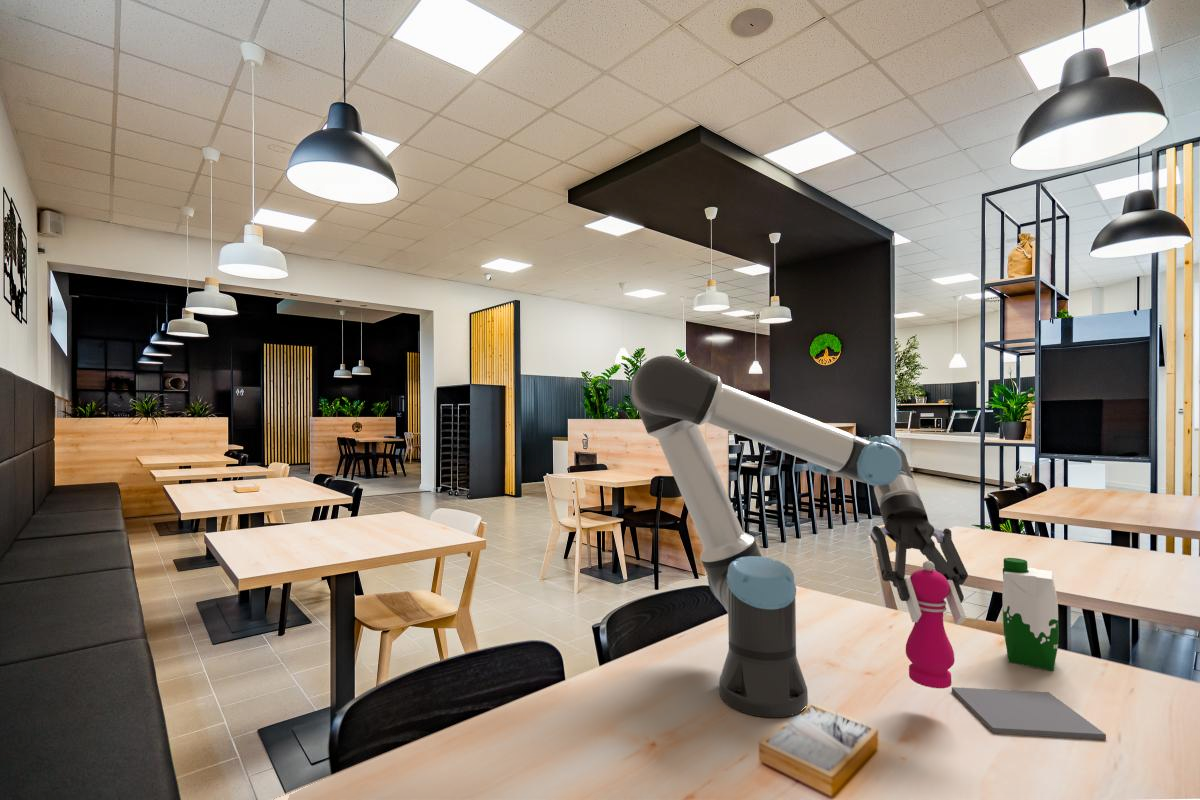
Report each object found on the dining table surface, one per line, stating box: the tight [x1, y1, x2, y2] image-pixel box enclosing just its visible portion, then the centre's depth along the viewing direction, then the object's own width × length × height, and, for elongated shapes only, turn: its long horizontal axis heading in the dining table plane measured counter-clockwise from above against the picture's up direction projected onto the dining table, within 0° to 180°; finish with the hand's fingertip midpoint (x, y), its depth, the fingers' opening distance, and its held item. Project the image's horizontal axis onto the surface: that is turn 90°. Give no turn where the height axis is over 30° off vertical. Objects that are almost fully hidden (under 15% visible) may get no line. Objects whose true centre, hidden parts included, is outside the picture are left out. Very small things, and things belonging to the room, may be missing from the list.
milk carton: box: [1001, 557, 1060, 672], centre depth 119 cm, size 9×9×20 cm
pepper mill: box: [905, 560, 955, 689], centre depth 99 cm, size 7×7×20 cm
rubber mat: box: [951, 686, 1107, 740], centre depth 97 cm, size 16×14×1 cm
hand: (938, 619), depth 95 cm, fingers closed on pepper mill, 6 cm apart
